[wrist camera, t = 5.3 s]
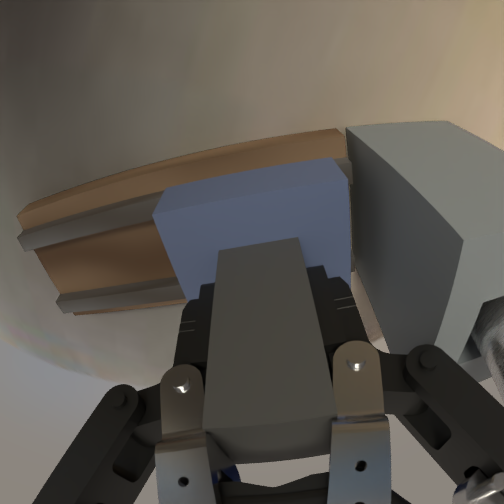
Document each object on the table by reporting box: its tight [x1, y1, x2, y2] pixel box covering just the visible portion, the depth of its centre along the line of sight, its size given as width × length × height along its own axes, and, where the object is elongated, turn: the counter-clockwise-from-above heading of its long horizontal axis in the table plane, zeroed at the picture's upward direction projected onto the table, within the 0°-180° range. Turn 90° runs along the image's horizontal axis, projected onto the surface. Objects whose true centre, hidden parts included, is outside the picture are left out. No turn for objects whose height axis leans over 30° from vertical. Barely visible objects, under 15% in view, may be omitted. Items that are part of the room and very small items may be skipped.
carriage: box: [152, 157, 351, 464], centre depth 11 cm, size 7×7×9 cm
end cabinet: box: [346, 121, 504, 382], centre depth 12 cm, size 8×6×10 cm
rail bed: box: [17, 128, 355, 315], centre depth 16 cm, size 8×18×2 cm, turn 101°
